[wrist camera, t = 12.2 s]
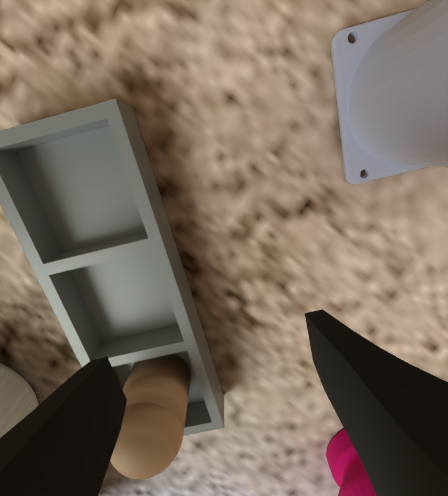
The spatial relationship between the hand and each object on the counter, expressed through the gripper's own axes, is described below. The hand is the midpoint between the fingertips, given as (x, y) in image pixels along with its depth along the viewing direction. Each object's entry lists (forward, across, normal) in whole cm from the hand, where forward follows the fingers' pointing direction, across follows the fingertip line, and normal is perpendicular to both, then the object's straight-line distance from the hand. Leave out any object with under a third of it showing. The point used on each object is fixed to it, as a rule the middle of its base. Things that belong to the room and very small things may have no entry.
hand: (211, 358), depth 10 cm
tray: (+9, +6, 0) cm, 11 cm away
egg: (+9, +6, +7) cm, 13 cm away
